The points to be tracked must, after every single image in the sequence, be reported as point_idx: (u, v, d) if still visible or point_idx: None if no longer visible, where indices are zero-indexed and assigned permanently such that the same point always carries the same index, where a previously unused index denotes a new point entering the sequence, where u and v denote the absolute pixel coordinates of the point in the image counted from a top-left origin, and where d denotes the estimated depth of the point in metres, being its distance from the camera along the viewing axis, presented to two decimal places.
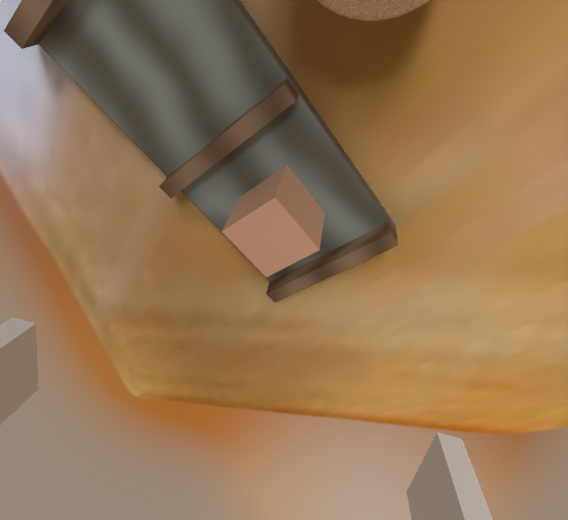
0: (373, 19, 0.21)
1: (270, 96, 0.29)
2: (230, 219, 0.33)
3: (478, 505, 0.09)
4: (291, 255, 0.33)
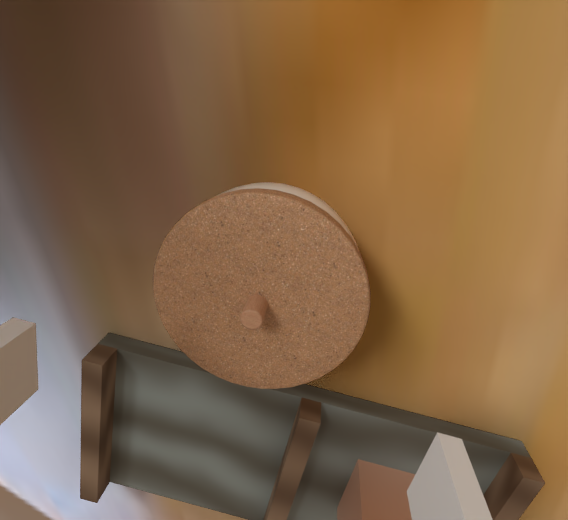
0: (326, 373, 0.19)
1: (296, 431, 0.27)
2: None
3: (478, 505, 0.09)
4: None
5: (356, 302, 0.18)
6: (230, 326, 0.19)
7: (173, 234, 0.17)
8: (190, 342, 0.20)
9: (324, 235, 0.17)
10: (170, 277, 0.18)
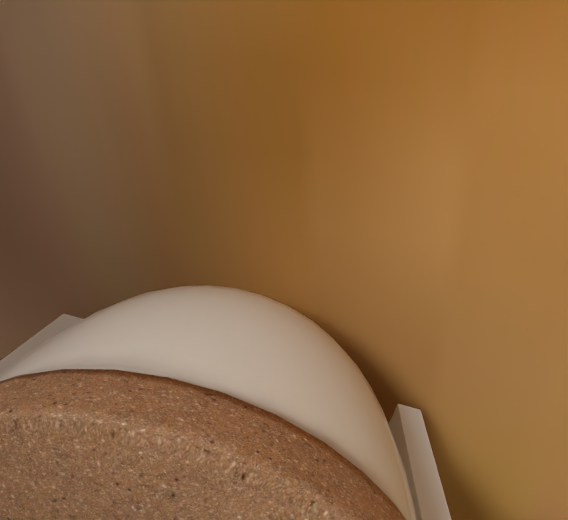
0: None
1: None
2: None
3: (427, 465, 0.10)
4: None
5: None
6: None
7: None
8: None
9: None
10: None
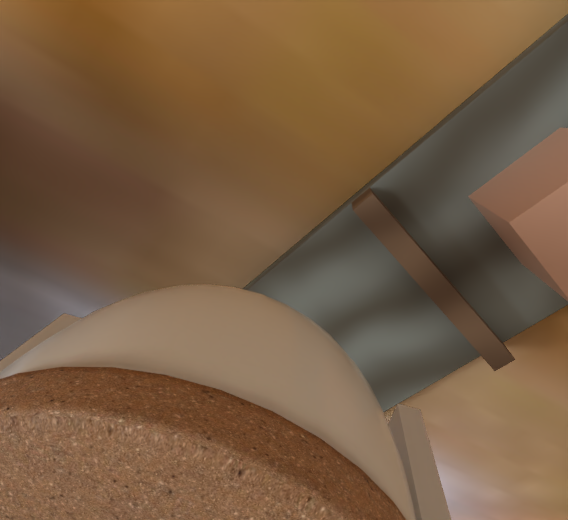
0: None
1: (367, 225, 0.23)
2: (554, 288, 0.21)
3: (427, 465, 0.10)
4: None
5: None
6: None
7: None
8: None
9: None
10: None
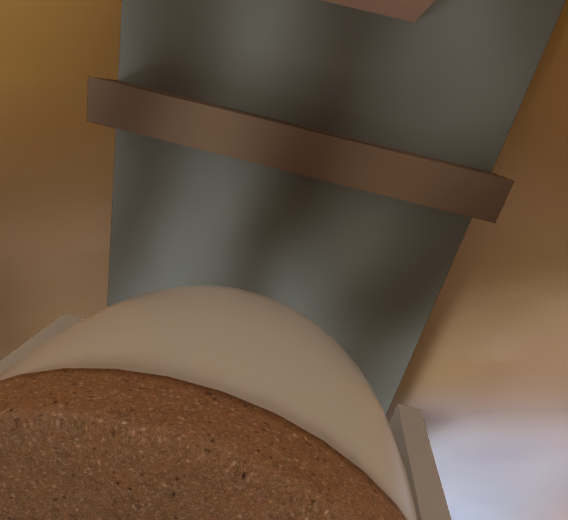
0: None
1: (122, 127, 0.14)
2: None
3: (427, 465, 0.10)
4: None
5: None
6: None
7: None
8: None
9: None
10: None
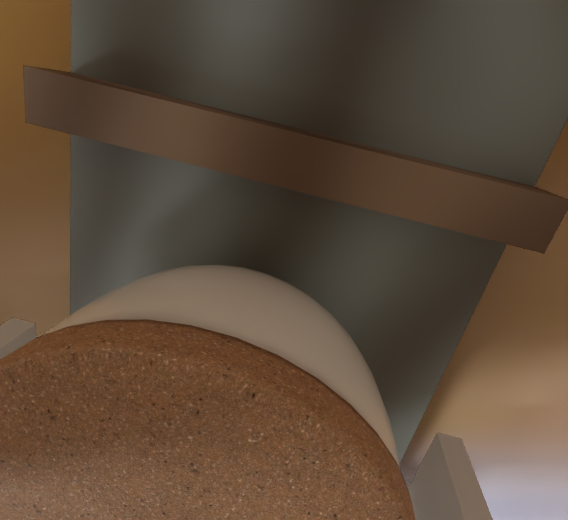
0: None
1: (69, 130, 0.11)
2: None
3: (478, 505, 0.09)
4: None
5: None
6: None
7: None
8: None
9: (309, 456, 0.06)
10: None
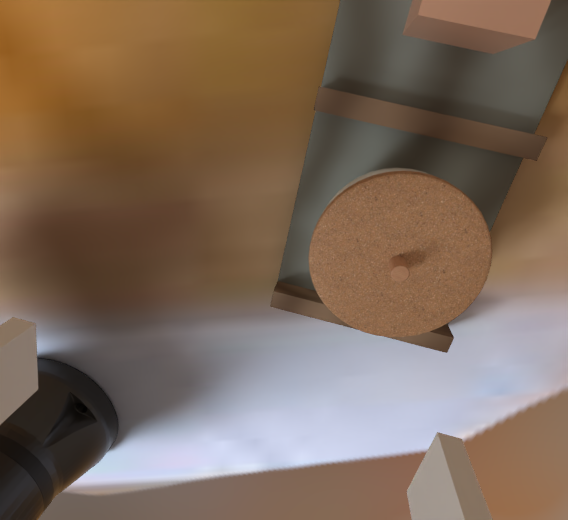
0: (447, 322, 0.24)
1: (332, 113, 0.26)
2: (513, 41, 0.21)
3: (478, 505, 0.09)
4: None
5: (480, 262, 0.22)
6: (371, 283, 0.23)
7: (333, 208, 0.22)
8: (335, 297, 0.24)
9: (459, 206, 0.21)
10: (326, 243, 0.23)
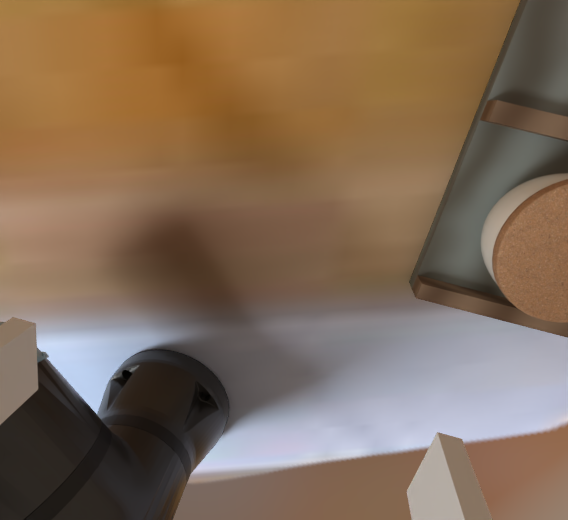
0: None
1: (506, 123, 0.29)
2: None
3: (478, 505, 0.09)
4: None
5: None
6: (554, 274, 0.27)
7: (532, 207, 0.25)
8: (517, 287, 0.27)
9: None
10: (519, 238, 0.26)
